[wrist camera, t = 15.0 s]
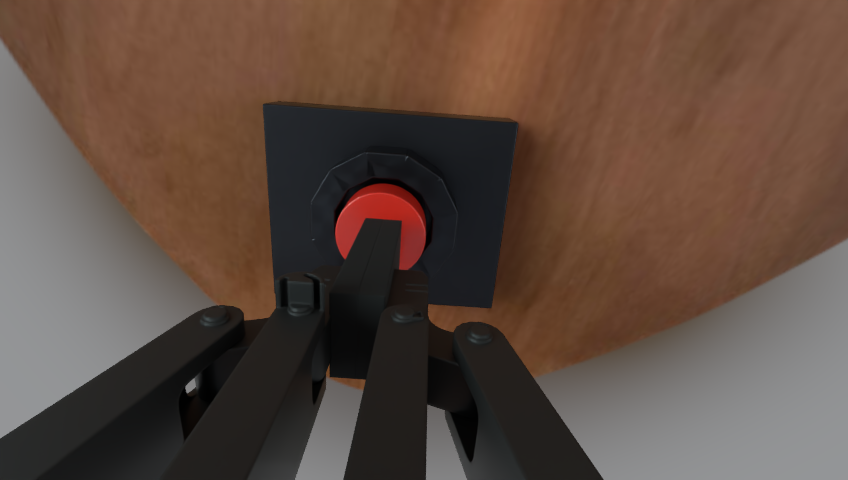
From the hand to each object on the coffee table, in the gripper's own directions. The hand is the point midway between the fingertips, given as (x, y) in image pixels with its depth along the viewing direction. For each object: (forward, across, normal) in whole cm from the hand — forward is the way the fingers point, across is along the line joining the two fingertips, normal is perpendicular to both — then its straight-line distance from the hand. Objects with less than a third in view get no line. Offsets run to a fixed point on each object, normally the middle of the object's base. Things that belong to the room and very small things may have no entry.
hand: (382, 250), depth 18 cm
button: (+3, 0, 0) cm, 3 cm away
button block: (+6, 0, 0) cm, 6 cm away
